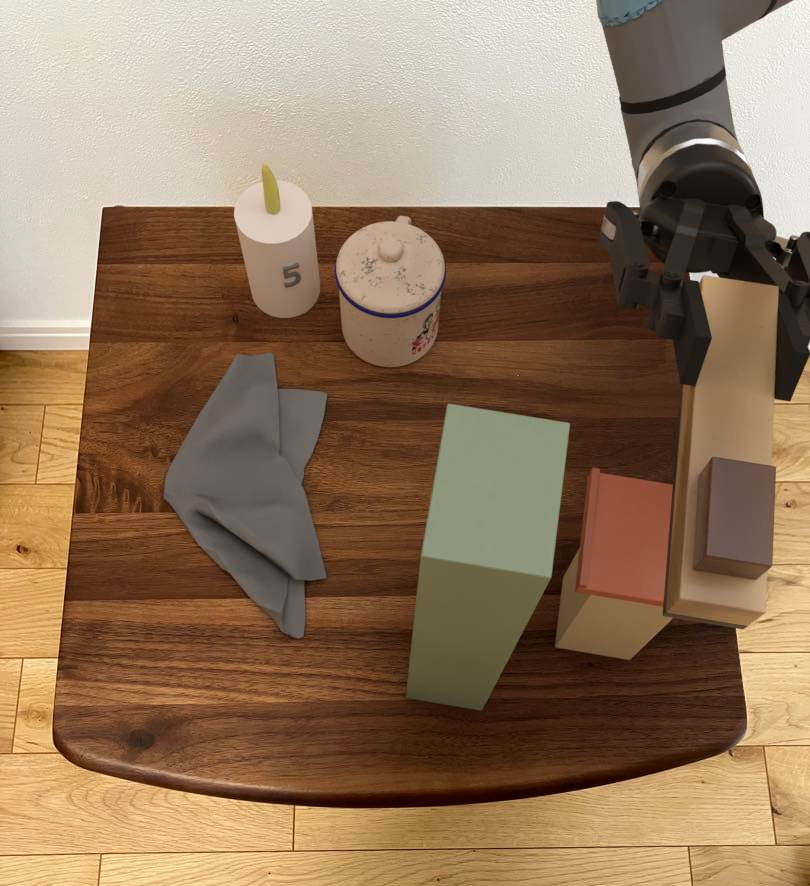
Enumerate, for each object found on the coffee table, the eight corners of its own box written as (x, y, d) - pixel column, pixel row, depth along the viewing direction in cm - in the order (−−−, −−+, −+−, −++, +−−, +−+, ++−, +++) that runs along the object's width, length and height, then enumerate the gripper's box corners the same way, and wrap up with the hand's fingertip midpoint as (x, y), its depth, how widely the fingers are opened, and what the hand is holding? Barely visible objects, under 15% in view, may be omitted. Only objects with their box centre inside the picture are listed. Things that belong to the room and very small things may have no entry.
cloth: (178, 352, 85) (173, 338, 83) (334, 354, 85) (332, 340, 83) (150, 638, 76) (144, 631, 74) (325, 640, 76) (323, 632, 74)
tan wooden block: (758, 318, 53) (794, 262, 48) (743, 630, 47) (783, 600, 42) (686, 307, 53) (715, 250, 48) (661, 616, 47) (692, 585, 42)
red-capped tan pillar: (655, 580, 78) (733, 489, 61) (647, 675, 75) (726, 609, 58) (546, 562, 79) (592, 467, 61) (534, 656, 76) (579, 584, 58)
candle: (265, 329, 86) (241, 218, 72) (241, 272, 88) (214, 153, 74) (331, 307, 87) (320, 193, 73) (306, 251, 89) (291, 129, 75)
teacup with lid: (431, 379, 84) (438, 302, 73) (330, 362, 85) (322, 283, 74) (452, 267, 88) (462, 178, 78) (355, 252, 89) (351, 161, 78)
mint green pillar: (495, 613, 77) (570, 422, 46) (481, 711, 74) (551, 578, 43) (422, 600, 77) (447, 402, 46) (405, 697, 74) (420, 556, 44)
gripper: (802, 271, 67) (886, 459, 49) (560, 233, 68) (555, 406, 50) (845, 162, 62) (956, 327, 44) (583, 122, 63) (588, 269, 45)
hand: (744, 368), depth 47 cm, fingers closed on tan wooden block, 4 cm apart
